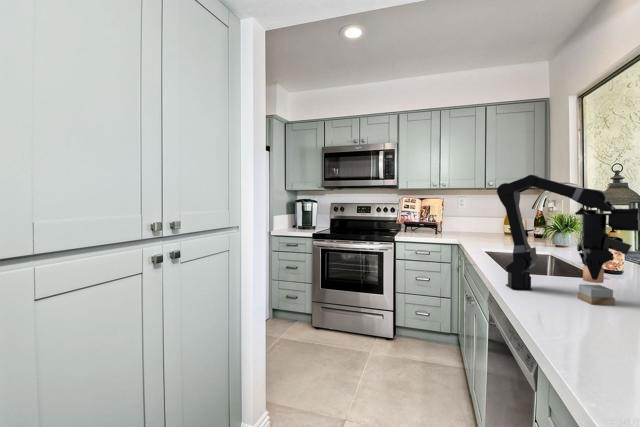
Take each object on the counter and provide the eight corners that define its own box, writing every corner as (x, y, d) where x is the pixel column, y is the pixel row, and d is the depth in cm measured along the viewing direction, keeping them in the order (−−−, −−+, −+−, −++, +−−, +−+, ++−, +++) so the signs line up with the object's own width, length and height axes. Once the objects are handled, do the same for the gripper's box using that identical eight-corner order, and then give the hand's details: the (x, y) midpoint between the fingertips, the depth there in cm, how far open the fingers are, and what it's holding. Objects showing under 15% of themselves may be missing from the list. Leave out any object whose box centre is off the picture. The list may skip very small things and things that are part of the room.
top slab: (591, 297, 100) (591, 289, 100) (578, 291, 106) (579, 284, 106) (612, 297, 99) (613, 290, 99) (599, 292, 105) (599, 284, 105)
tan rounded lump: (589, 282, 100) (590, 268, 100) (579, 278, 105) (579, 265, 105) (607, 283, 100) (607, 268, 99) (596, 279, 105) (596, 265, 104)
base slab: (591, 305, 99) (591, 297, 99) (577, 299, 106) (577, 291, 106) (614, 306, 98) (614, 298, 98) (599, 299, 105) (599, 292, 105)
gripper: (638, 233, 90) (636, 288, 90) (620, 227, 105) (619, 274, 106) (586, 231, 95) (585, 283, 96) (577, 226, 111) (576, 270, 112)
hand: (593, 277), depth 102 cm, fingers closed on tan rounded lump, 5 cm apart
